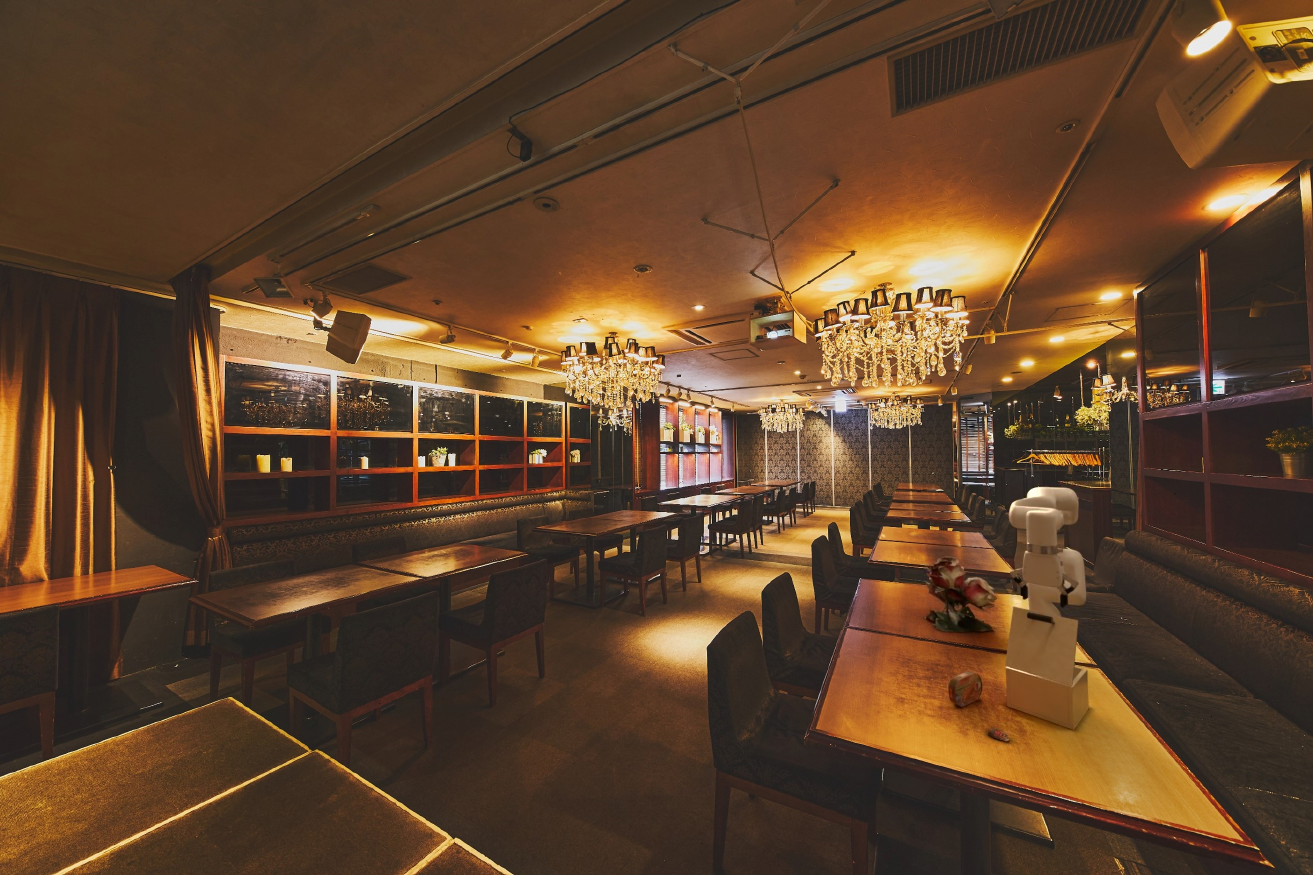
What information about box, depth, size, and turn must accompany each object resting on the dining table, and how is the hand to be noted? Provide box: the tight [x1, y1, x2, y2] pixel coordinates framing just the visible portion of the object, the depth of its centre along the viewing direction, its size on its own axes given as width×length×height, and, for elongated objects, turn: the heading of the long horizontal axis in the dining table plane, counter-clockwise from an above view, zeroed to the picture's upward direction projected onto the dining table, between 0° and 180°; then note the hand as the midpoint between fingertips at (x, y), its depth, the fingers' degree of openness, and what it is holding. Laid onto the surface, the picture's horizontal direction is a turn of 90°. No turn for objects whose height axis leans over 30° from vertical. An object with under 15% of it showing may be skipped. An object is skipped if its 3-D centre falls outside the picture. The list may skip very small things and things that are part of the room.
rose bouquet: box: [923, 555, 998, 633], centre depth 218 cm, size 26×29×30 cm
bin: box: [1005, 665, 1090, 731], centre depth 146 cm, size 18×16×12 cm
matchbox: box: [987, 728, 1010, 742], centre depth 132 cm, size 5×5×1 cm
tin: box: [947, 670, 984, 708], centre depth 150 cm, size 15×3×8 cm, turn 117°
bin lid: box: [1005, 606, 1079, 686], centre depth 142 cm, size 19×16×5 cm
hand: (1043, 602), depth 150 cm, fingers open, 9 cm apart
